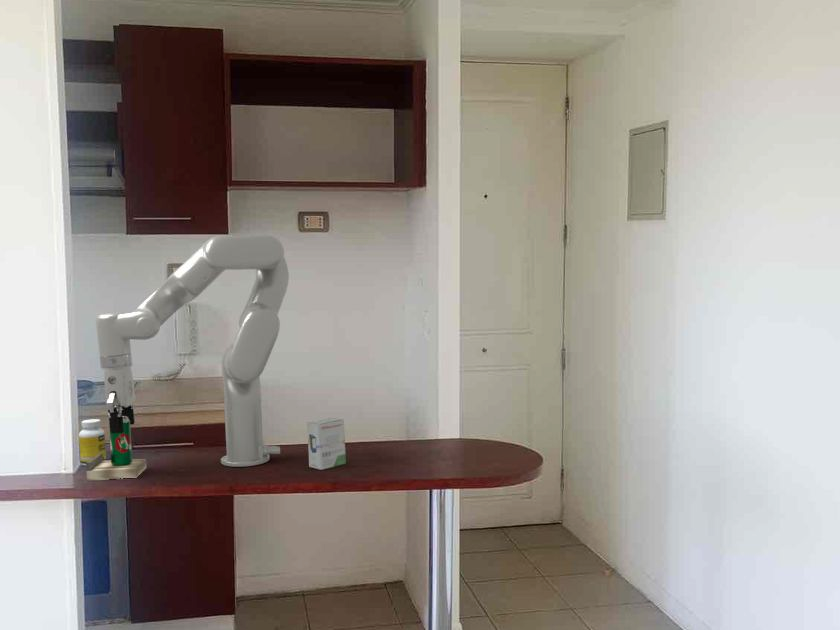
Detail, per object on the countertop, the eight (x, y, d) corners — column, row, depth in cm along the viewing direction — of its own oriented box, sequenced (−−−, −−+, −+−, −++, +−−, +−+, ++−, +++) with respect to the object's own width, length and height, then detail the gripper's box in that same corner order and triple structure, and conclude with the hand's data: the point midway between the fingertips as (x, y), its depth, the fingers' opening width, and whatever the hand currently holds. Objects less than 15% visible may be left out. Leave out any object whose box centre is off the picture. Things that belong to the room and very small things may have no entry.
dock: (146, 468, 227) (145, 451, 227) (136, 478, 217) (135, 460, 217) (99, 470, 227) (98, 453, 226) (87, 480, 217) (86, 462, 216)
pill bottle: (97, 467, 231) (95, 423, 230) (75, 466, 232) (72, 423, 231) (111, 460, 237) (108, 418, 236) (89, 460, 238) (86, 418, 237)
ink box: (320, 470, 220) (318, 424, 219) (308, 467, 224) (306, 421, 223) (347, 463, 226) (345, 418, 225) (334, 460, 230) (332, 416, 229)
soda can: (115, 462, 225) (113, 415, 224) (135, 461, 224) (132, 415, 224) (108, 467, 220) (105, 419, 219) (127, 466, 219) (125, 419, 219)
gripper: (121, 365, 212) (128, 435, 213) (140, 356, 229) (146, 420, 230) (90, 367, 211) (97, 437, 213) (111, 358, 228) (117, 422, 230)
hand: (122, 428), depth 222 cm, fingers open, 9 cm apart
